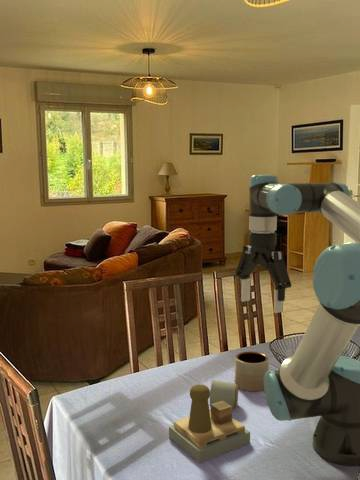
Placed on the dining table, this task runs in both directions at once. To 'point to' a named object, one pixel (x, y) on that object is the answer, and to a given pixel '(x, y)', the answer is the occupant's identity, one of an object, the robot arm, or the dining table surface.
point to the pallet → (214, 433)
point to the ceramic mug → (224, 393)
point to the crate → (221, 412)
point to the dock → (209, 444)
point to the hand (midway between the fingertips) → (261, 306)
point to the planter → (251, 370)
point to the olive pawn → (199, 409)
